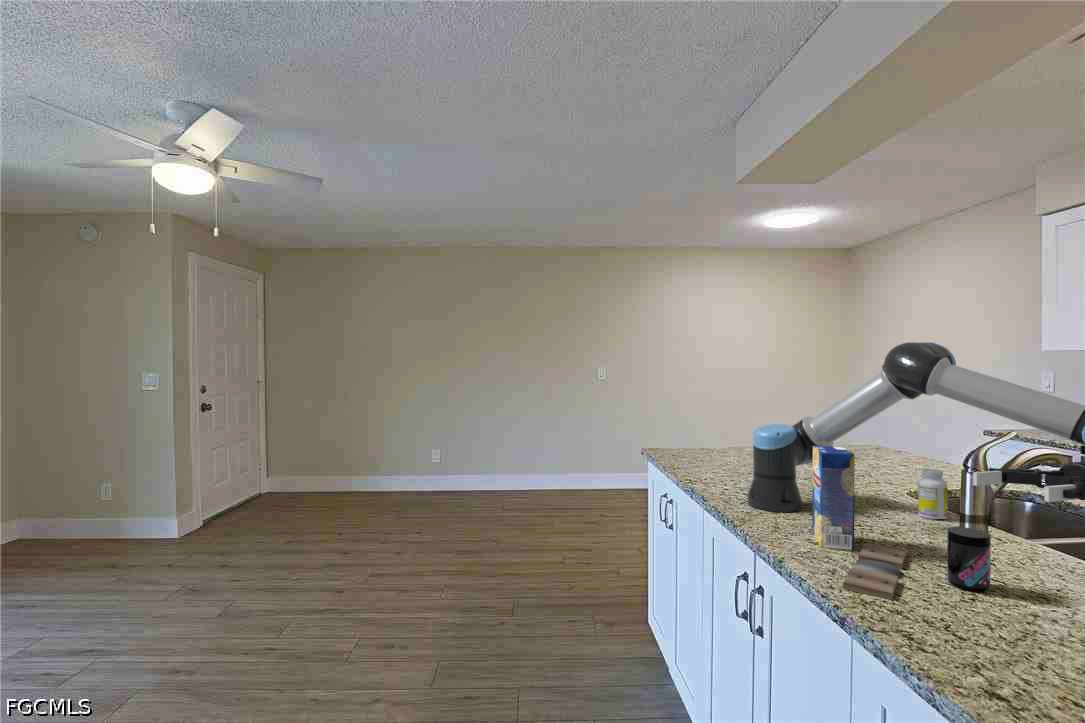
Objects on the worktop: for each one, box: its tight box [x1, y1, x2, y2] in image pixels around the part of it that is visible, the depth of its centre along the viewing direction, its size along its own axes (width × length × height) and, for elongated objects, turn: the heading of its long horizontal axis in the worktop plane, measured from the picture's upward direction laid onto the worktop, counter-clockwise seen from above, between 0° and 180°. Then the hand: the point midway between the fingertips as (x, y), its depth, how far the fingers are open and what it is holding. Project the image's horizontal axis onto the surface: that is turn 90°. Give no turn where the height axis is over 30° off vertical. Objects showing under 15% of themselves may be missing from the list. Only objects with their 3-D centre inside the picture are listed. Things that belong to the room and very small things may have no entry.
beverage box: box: [812, 445, 855, 551], centre depth 134 cm, size 7×11×22 cm, turn 164°
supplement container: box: [946, 526, 992, 593], centre depth 108 cm, size 7×7×10 cm
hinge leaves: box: [842, 542, 907, 601], centre depth 116 cm, size 28×8×1 cm, turn 143°
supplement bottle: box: [917, 468, 949, 520], centre depth 153 cm, size 7×7×13 cm
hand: (1008, 486), depth 110 cm, fingers open, 13 cm apart
